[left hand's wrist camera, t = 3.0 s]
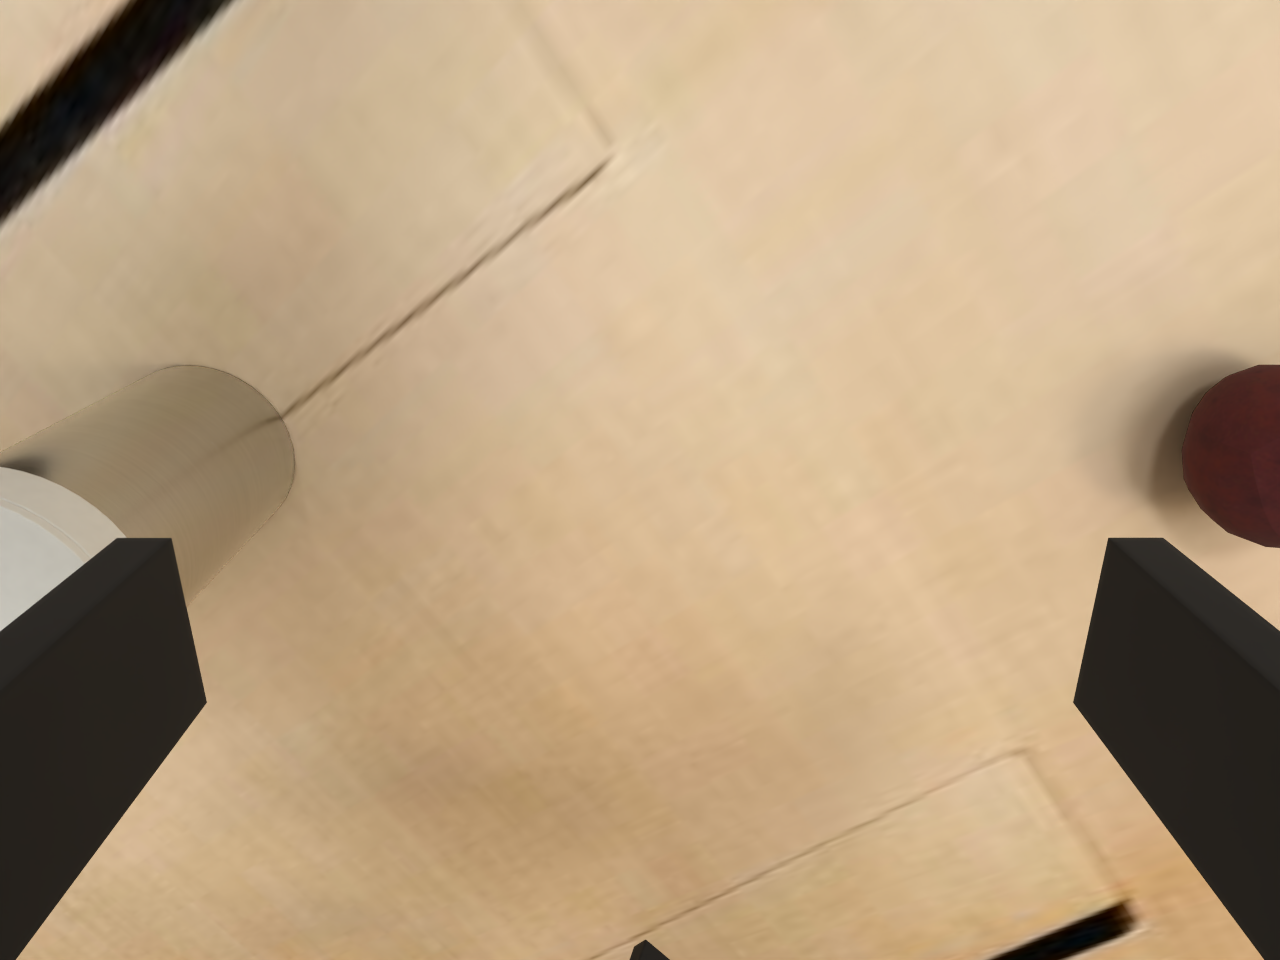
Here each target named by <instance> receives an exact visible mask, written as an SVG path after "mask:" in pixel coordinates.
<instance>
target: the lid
mask: <svg viewBox="0 0 1280 960" xmlns="http://www.w3.org/2000/svg"><path fill="white" fill-rule="evenodd" d="M116 538H127V537H126V536H125V535H124V534H123V533H122V532H121V531H120V530H119V528H118V527H117V526H116V525H115V524H114V523H113V522H112V521H111V520H110V519H109V518H108V517H107V516H105V515H104V514H103V513H102V512H101V511H99V510H98V509H97V508H96V507H94V506H93V505H92V504H90V503H89V502H87V501H86V500H84V499H83V498H82V497H80V496H79V495H77V494H75V493H73V492H71V491H70V490H68V489H66V488H64V487H63V486H61V485H58V484H56V483H54V482H51V481H49V480H47V479H44V478H42V477H39V476H36V475H33V474H30V473H26V472H23V471H19V470H14V469H10V468H4V467H0V631H1V630H2V629H4V628H5V627H6V626H7V625H9V624H10V623H11V622H12V621H14V620H15V619H16V618H17V617H19V616H20V615H21V614H22V613H24V612H25V611H26V610H27V609H29V608H30V607H31V606H32V605H34V604H35V603H36V602H37V601H39V600H40V599H41V598H42V597H44V596H45V595H46V594H47V593H49V592H50V591H51V590H52V589H54V588H55V587H56V586H57V585H59V584H60V583H61V582H62V581H64V580H65V579H66V578H67V577H69V576H70V575H71V574H72V573H74V572H75V571H76V570H77V569H79V568H80V567H81V566H82V565H84V564H85V563H86V562H87V561H89V560H90V559H91V558H92V557H94V556H95V555H96V554H97V553H99V552H100V551H101V550H102V549H104V548H105V547H106V546H107V545H109V544H110V543H111V542H112V541H114V540H115V539H116Z"/></svg>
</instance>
